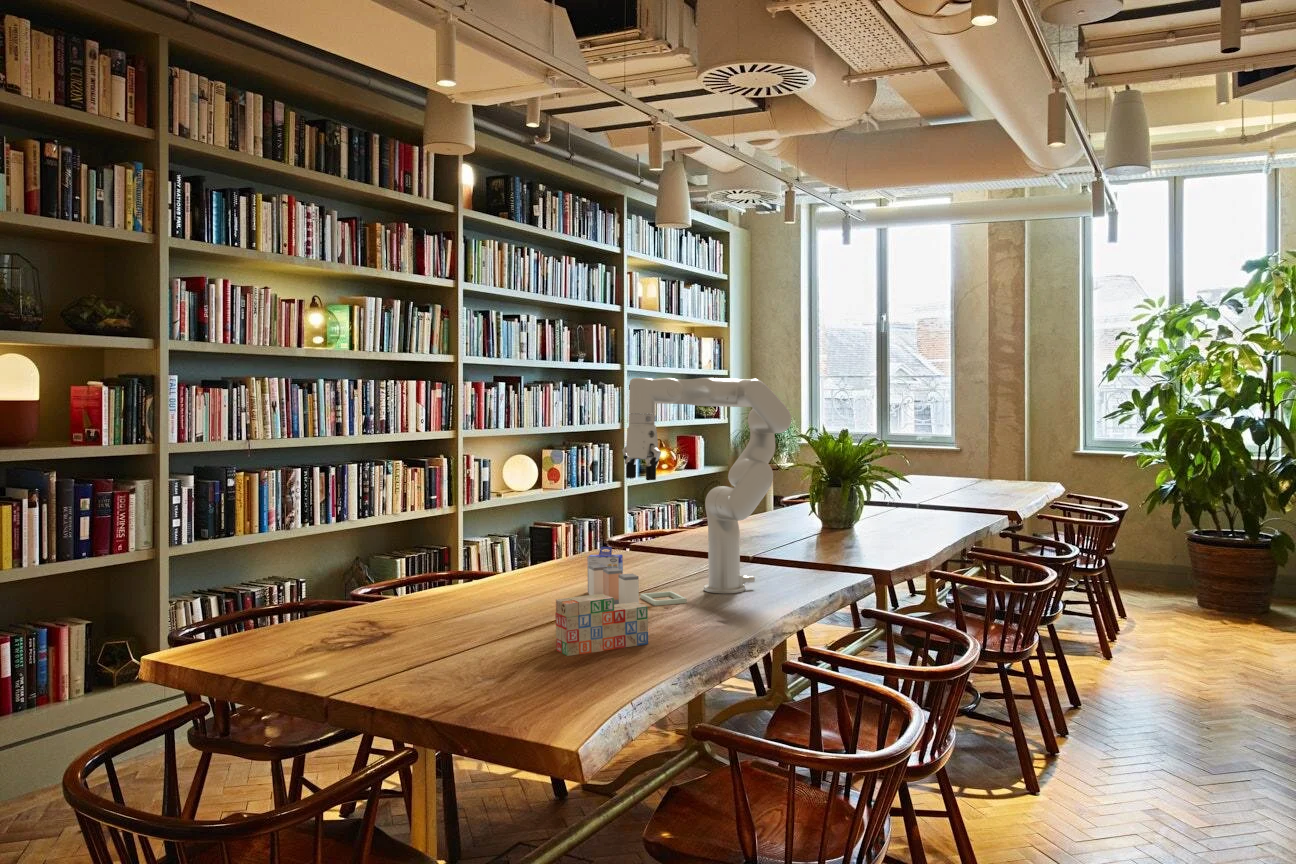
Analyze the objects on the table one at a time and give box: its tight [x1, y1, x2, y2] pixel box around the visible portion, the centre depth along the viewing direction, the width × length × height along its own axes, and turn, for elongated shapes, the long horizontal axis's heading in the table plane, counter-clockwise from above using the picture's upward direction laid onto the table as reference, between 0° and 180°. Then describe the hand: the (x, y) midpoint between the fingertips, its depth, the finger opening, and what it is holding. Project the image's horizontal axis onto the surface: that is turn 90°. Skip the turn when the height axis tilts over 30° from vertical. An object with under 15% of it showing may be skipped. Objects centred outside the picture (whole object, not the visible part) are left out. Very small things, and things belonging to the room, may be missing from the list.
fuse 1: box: [588, 564, 607, 595], centre depth 289 cm, size 4×5×10 cm
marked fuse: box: [603, 568, 622, 600], centre depth 281 cm, size 4×5×10 cm
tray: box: [639, 590, 688, 606], centre depth 287 cm, size 10×12×2 cm
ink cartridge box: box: [586, 546, 624, 594], centre depth 301 cm, size 10×6×14 cm, turn 78°
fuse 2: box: [618, 573, 640, 604], centre depth 274 cm, size 4×5×10 cm
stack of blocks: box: [555, 594, 649, 657], centre depth 238 cm, size 21×6×12 cm, turn 119°
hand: (640, 478), depth 295 cm, fingers open, 9 cm apart
